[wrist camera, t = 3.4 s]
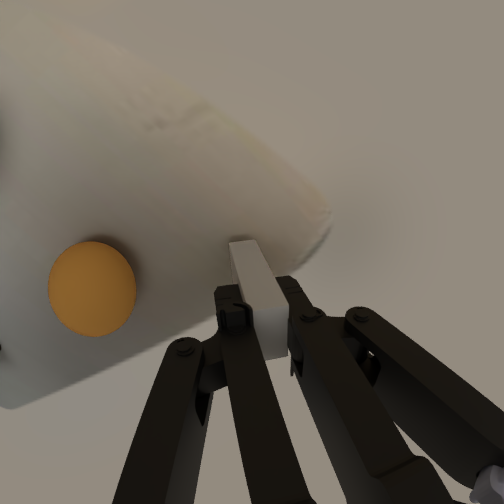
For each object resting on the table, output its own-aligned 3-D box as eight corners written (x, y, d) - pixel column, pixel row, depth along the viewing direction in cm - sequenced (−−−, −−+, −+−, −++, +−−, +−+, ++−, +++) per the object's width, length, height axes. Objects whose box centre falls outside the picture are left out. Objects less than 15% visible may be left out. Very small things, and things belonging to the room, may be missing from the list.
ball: (82, 305, 18) (57, 357, 13) (58, 234, 15) (18, 274, 11) (150, 298, 19) (140, 354, 14) (132, 221, 16) (108, 261, 11)
